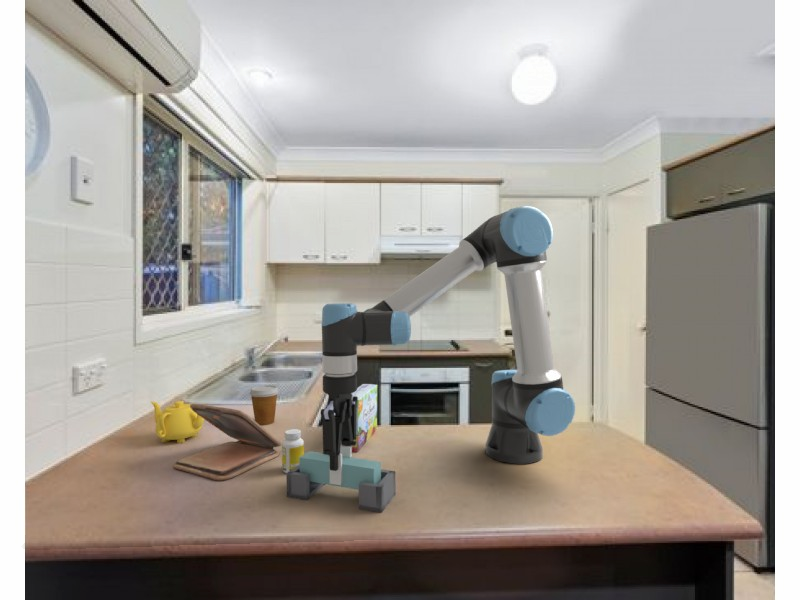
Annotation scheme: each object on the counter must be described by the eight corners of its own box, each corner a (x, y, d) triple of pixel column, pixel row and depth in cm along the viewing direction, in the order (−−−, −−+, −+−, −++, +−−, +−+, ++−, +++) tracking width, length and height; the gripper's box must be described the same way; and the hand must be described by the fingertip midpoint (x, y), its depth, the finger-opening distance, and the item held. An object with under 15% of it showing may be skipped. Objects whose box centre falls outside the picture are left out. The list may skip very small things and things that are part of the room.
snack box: (359, 453, 123) (359, 399, 122) (340, 451, 124) (339, 398, 124) (378, 429, 143) (377, 383, 143) (361, 428, 145) (361, 382, 144)
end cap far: (325, 483, 103) (325, 461, 103) (306, 500, 95) (306, 476, 95) (306, 481, 105) (306, 459, 104) (286, 496, 97) (286, 473, 97)
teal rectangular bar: (380, 484, 96) (381, 461, 96) (373, 492, 92) (373, 468, 92) (309, 472, 102) (309, 451, 102) (299, 479, 98) (299, 457, 98)
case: (285, 454, 122) (284, 397, 122) (223, 484, 104) (221, 416, 104) (233, 444, 132) (232, 391, 132) (168, 469, 113) (166, 407, 113)
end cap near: (359, 508, 91) (358, 484, 91) (374, 491, 99) (374, 468, 99) (381, 512, 89) (381, 487, 89) (395, 494, 97) (395, 471, 97)
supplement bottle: (308, 467, 113) (307, 429, 113) (296, 475, 108) (296, 435, 108) (290, 464, 115) (289, 427, 115) (277, 472, 110) (277, 433, 109)
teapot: (130, 445, 130) (129, 407, 130) (167, 430, 145) (166, 395, 144) (189, 450, 126) (188, 410, 126) (221, 433, 140) (220, 398, 140)
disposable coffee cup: (284, 421, 154) (284, 386, 153) (263, 428, 145) (262, 392, 145) (266, 417, 159) (265, 384, 158) (244, 423, 151) (243, 389, 150)
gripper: (342, 366, 106) (343, 462, 106) (304, 380, 90) (305, 493, 90) (370, 367, 103) (371, 466, 104) (337, 382, 87) (338, 499, 88)
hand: (341, 479), depth 97 cm, fingers closed on teal rectangular bar, 4 cm apart
